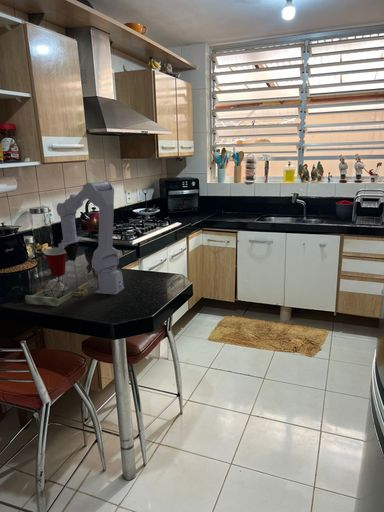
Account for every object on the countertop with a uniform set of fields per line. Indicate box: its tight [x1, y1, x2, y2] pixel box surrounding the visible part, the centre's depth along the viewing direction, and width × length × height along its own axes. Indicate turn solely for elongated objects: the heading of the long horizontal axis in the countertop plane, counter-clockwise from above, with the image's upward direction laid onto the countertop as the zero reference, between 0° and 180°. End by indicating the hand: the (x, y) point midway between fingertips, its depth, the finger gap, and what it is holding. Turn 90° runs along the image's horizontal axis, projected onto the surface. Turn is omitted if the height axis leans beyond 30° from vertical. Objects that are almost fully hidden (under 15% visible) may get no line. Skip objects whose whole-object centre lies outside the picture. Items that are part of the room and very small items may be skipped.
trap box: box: [24, 279, 90, 307], centre depth 152 cm, size 22×22×3 cm
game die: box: [42, 276, 68, 298], centre depth 148 cm, size 9×8×10 cm
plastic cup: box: [43, 247, 68, 277], centre depth 177 cm, size 11×11×12 cm
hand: (72, 260), depth 166 cm, fingers closed
